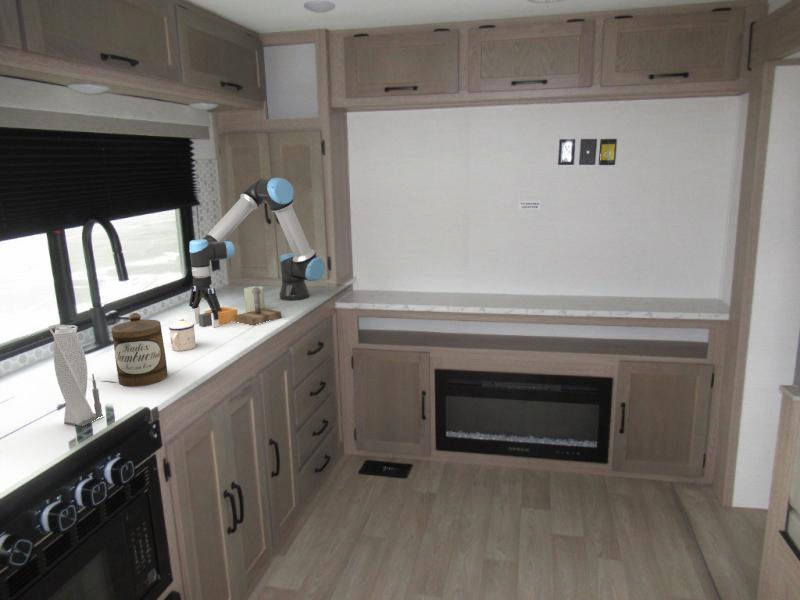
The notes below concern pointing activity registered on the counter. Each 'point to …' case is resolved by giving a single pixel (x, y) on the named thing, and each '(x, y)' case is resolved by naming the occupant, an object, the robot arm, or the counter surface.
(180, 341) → the teacup with lid
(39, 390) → the counter surface
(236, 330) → the counter surface
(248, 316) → the keeper base
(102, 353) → the counter surface
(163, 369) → the wooden container
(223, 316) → the orange gray open box
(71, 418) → the skyscraper
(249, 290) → the pale green upright block
